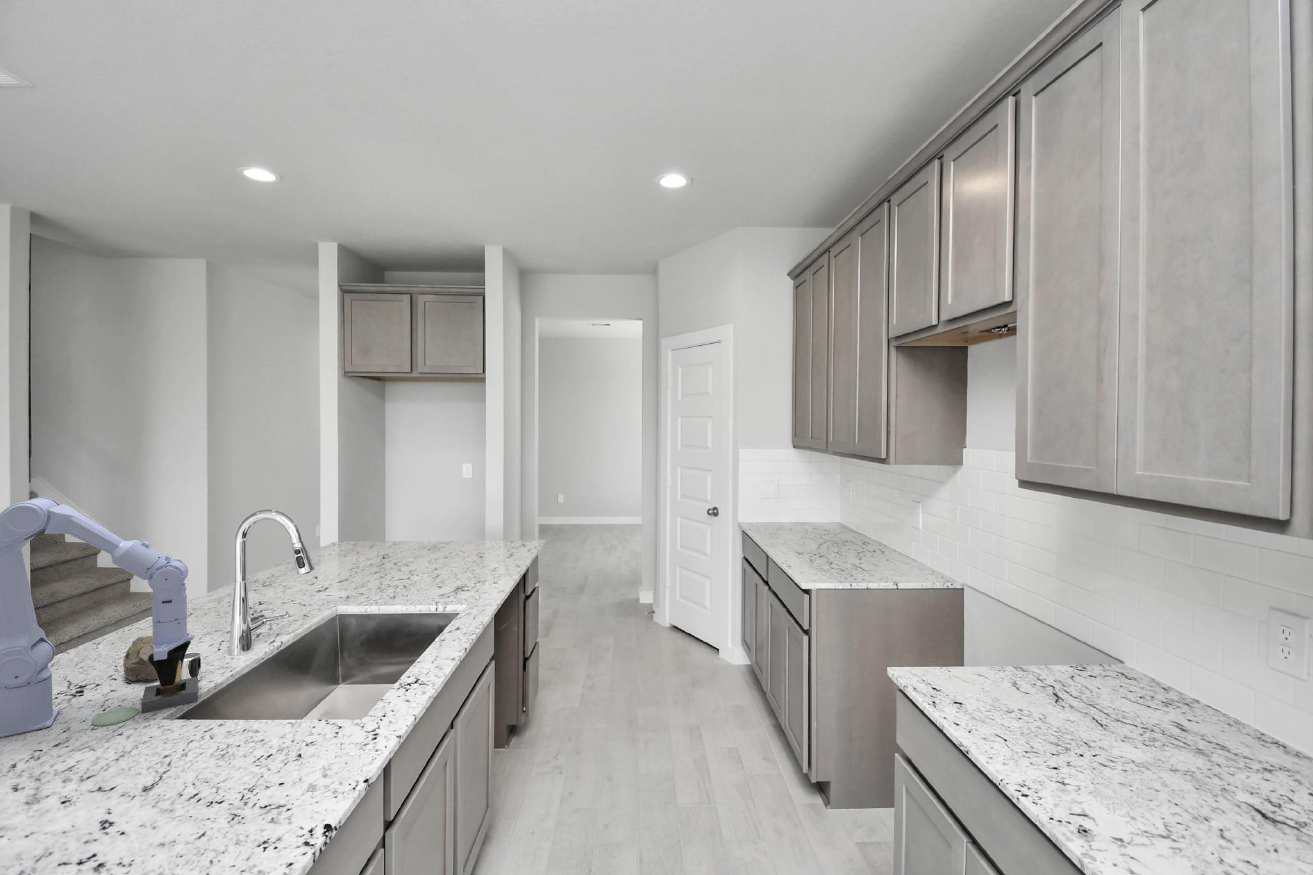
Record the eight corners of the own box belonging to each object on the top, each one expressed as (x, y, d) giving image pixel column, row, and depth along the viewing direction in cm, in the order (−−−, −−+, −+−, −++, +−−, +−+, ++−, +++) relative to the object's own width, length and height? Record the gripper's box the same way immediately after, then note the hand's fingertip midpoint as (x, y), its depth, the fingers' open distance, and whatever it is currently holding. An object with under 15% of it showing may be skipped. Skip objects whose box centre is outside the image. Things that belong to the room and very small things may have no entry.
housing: (141, 713, 121) (141, 702, 121) (145, 697, 128) (145, 686, 128) (197, 701, 126) (197, 691, 126) (198, 686, 134) (197, 676, 134)
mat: (88, 729, 115) (88, 727, 115) (94, 715, 120) (94, 713, 120) (137, 719, 119) (136, 717, 119) (140, 705, 124) (140, 703, 124)
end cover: (157, 700, 125) (156, 666, 125) (163, 693, 128) (162, 660, 128) (178, 697, 126) (178, 663, 126) (183, 690, 130) (183, 657, 130)
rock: (121, 665, 142) (128, 628, 140) (157, 662, 146) (164, 626, 144) (118, 698, 133) (125, 660, 131) (156, 694, 137) (163, 656, 136)
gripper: (184, 626, 122) (185, 691, 123) (201, 606, 135) (202, 665, 136) (140, 631, 119) (141, 698, 119) (161, 610, 132) (162, 671, 132)
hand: (170, 681), depth 127 cm, fingers closed on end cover, 4 cm apart
